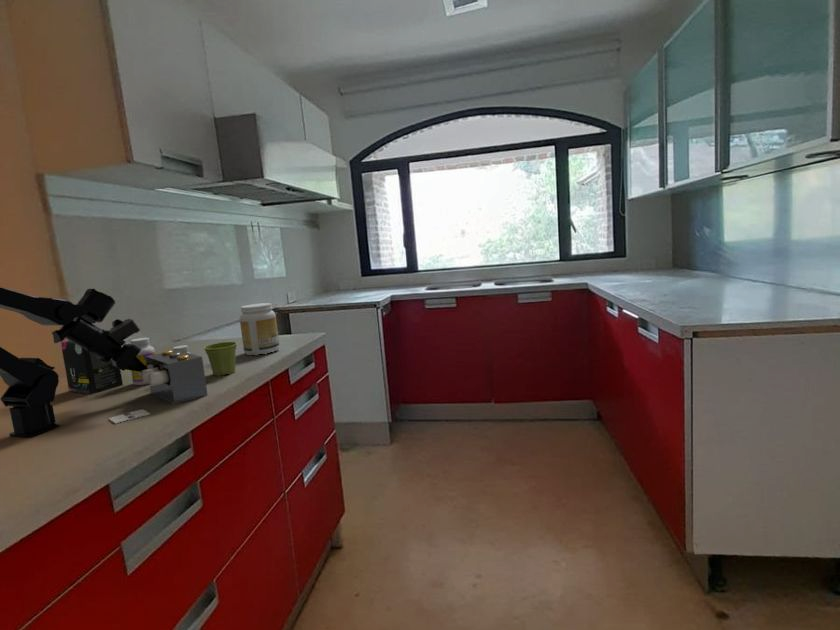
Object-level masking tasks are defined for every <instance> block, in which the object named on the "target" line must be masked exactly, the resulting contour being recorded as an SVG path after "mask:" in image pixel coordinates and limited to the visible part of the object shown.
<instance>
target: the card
mask: <svg viewBox="0 0 840 630" xmlns="http://www.w3.org/2000/svg"><path fill="white" fill-rule="evenodd" d="M149 415H151V413H150V412H148V411H147V410H146V409H138V410H135V411H130V412H127V413H123V414H120V415H115V416H113V417H109V418H108V420H109V421H110V422H111V423H113V424H114V423H115V425H116V424H120V422H121V423H124V421H125V422H128V421H130V420H135V419H139V418H141V417H142V416H143V417H146V416H149ZM138 417H139V418H138ZM143 417H142V418H143ZM127 420H128V421H127Z"/></svg>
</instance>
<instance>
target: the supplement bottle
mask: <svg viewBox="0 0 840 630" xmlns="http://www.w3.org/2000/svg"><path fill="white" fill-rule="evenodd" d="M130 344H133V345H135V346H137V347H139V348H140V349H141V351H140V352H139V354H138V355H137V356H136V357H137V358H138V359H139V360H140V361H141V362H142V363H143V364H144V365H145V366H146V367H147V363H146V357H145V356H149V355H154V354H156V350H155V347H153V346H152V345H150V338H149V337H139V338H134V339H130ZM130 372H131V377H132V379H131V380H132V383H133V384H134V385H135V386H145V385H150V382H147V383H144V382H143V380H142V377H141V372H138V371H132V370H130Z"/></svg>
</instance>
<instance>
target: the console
mask: <svg viewBox="0 0 840 630" xmlns="http://www.w3.org/2000/svg"><path fill="white" fill-rule="evenodd" d="M190 353H191V352H189V353H186V352H183V351H179V350H174V351H173V350H165V351H162V352H160V353H155V354H154V355H149V356H145V357H146V363H147V366H148V365H151V364H153V368H156V367H158V368H159V366H160V369H161V371H163V370H166V371H167V373H168V376H169V382H168V383H165V384H161V385H156V386H151V385H150V384H149V386H150V387H149V388H150V393H151V394H153V395H155V396H158V397H159V398H162V399H163V400H165V401H167V402H170V403H172V404H174V405H175V404H179V403H183V402H187V401H191V400H194V398H195V399H198V398H201V396H202V397H205V395H206V396H208V389H207V383H206V374H205V368H204V367H205V366H204V361H203V357H202V355H201V356H200V355H196V354H193V353H191V354H190ZM160 369H159V370H160ZM197 397H198V398H197ZM190 399H191V400H190Z"/></svg>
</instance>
